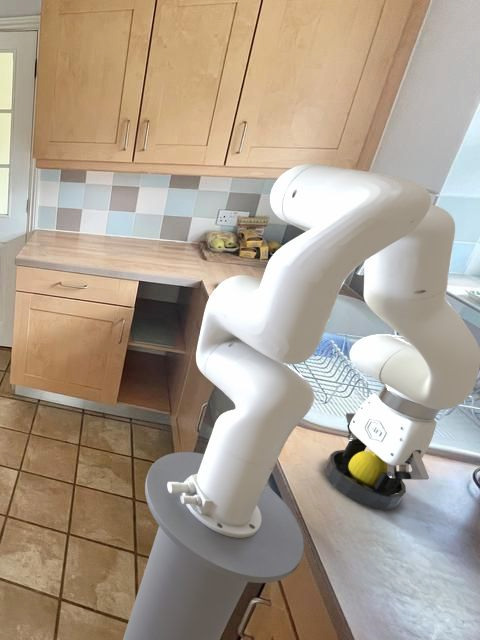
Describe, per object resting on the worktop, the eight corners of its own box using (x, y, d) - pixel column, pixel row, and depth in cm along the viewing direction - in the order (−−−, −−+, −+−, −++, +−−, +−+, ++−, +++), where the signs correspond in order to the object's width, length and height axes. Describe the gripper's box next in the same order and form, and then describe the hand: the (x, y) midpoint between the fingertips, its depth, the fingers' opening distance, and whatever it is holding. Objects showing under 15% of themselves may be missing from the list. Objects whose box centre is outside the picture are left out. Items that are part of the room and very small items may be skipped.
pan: (354, 509, 78) (362, 496, 76) (310, 461, 88) (316, 448, 86) (414, 511, 77) (423, 498, 76) (363, 462, 88) (370, 450, 86)
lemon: (340, 467, 86) (356, 438, 83) (376, 481, 83) (393, 451, 80) (343, 486, 82) (360, 456, 79) (380, 500, 79) (399, 470, 76)
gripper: (347, 371, 82) (314, 439, 89) (436, 436, 66) (386, 512, 73) (385, 372, 82) (349, 440, 89) (483, 437, 66) (429, 513, 73)
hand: (366, 472), depth 81 cm, fingers open, 6 cm apart
